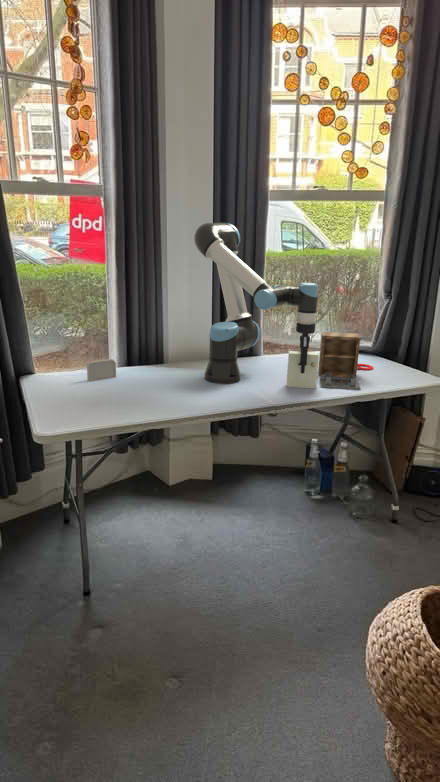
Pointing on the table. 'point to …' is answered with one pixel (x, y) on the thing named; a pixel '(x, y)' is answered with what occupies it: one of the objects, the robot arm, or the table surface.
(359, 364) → the tow hook
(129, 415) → the table surface
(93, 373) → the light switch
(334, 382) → the grey pegged base plate
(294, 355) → the door panel
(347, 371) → the cabinet
